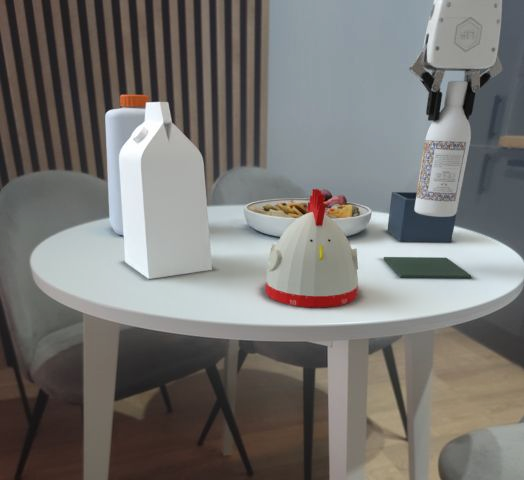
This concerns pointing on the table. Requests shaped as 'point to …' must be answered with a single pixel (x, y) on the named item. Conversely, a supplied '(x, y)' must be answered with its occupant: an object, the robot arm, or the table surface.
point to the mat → (425, 267)
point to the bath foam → (445, 157)
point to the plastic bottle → (117, 134)
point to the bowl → (288, 210)
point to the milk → (163, 199)
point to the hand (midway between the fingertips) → (447, 119)
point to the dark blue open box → (416, 221)
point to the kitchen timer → (313, 262)
